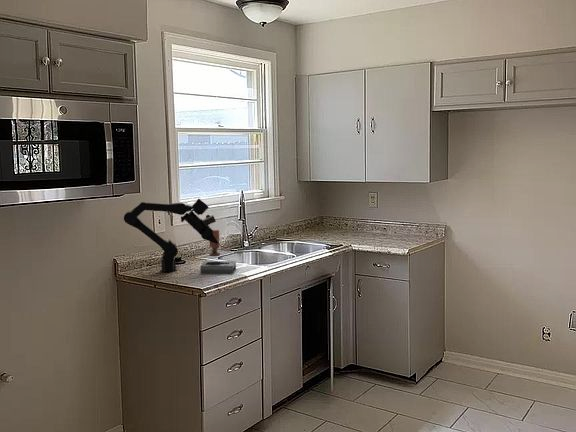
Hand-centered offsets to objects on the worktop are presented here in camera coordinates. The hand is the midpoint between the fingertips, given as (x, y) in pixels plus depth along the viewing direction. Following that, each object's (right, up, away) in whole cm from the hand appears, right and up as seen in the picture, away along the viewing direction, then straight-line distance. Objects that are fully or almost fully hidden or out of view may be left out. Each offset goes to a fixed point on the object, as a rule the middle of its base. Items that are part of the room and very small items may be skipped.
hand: (217, 242), depth 311 cm
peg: (-1, -7, 0) cm, 7 cm away
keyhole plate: (+1, -14, -5) cm, 15 cm away
